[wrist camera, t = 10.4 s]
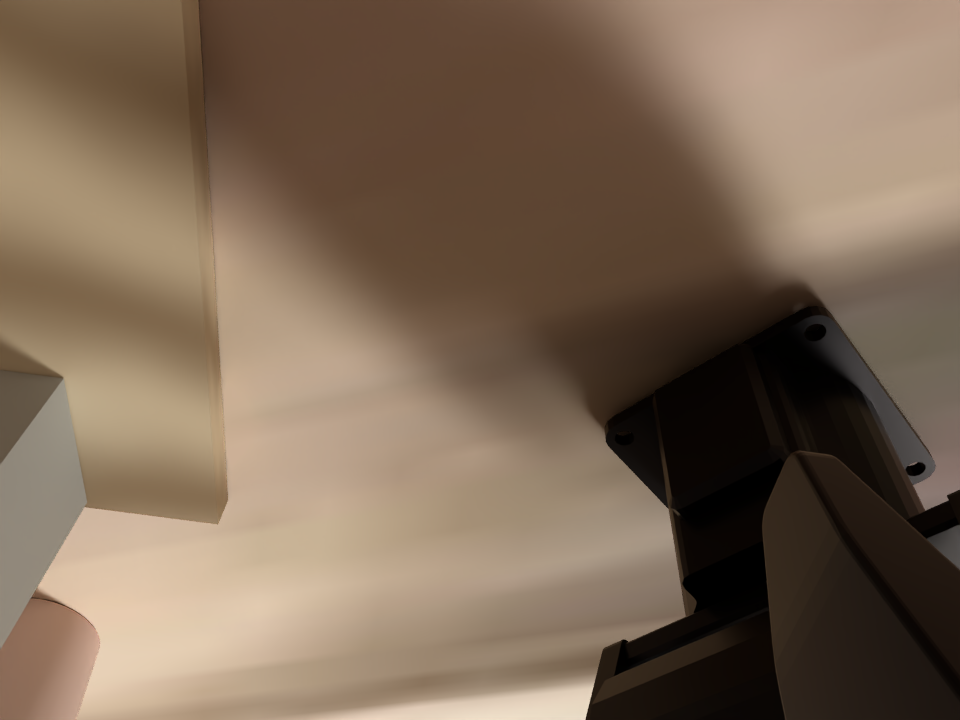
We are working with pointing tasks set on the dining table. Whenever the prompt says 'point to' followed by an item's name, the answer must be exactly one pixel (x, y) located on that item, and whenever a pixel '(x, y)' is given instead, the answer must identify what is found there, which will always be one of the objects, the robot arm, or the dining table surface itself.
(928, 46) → the dining table surface
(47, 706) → the smoothie
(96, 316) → the board
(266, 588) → the dining table surface
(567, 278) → the dining table surface
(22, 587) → the slate block
